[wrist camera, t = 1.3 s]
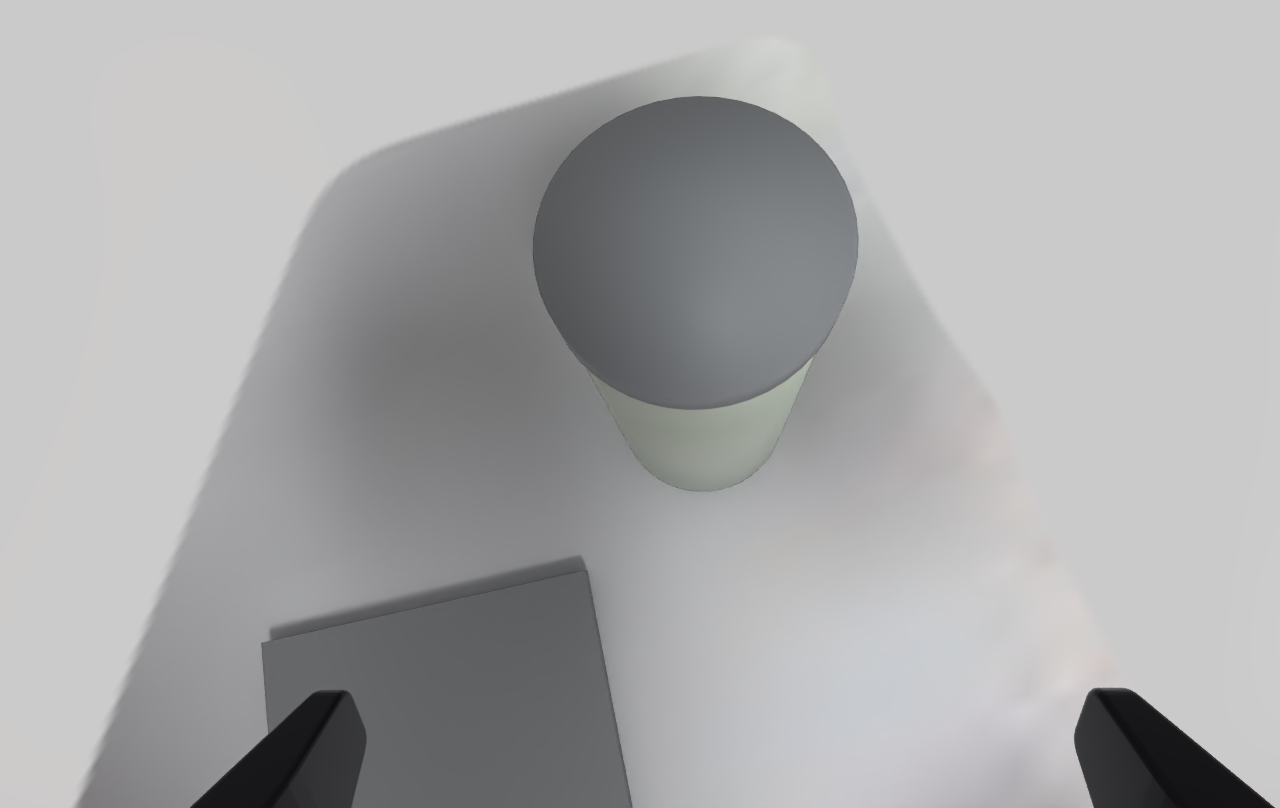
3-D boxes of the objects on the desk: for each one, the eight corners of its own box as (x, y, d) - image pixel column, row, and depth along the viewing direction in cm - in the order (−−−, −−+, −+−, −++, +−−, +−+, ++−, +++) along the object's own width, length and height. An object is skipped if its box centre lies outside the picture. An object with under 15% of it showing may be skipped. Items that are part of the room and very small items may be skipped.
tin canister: (805, 473, 23) (900, 350, 11) (638, 511, 23) (564, 428, 11) (761, 317, 24) (808, 64, 13) (605, 354, 24) (508, 138, 13)
